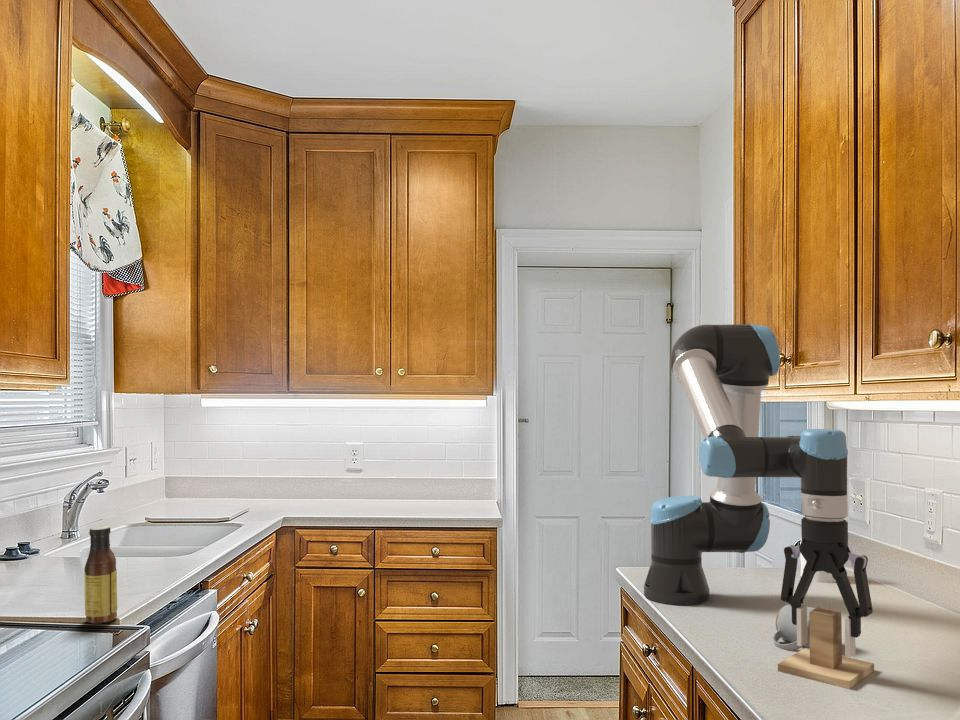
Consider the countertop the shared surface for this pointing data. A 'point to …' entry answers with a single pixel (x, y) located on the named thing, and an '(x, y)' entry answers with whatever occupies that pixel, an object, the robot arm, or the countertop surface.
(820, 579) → the base with upright slab
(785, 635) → the ceramic mug
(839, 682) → the wooden plaque with block
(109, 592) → the sauce bottle
